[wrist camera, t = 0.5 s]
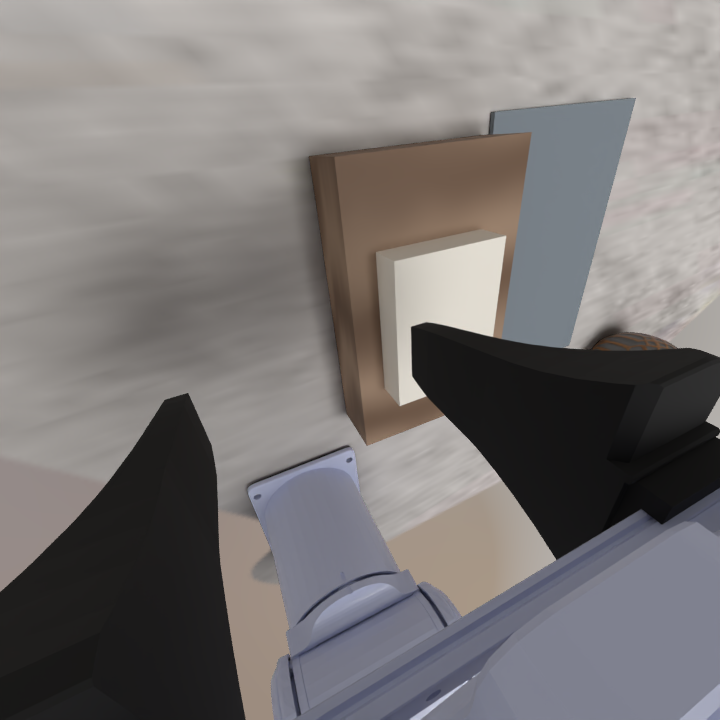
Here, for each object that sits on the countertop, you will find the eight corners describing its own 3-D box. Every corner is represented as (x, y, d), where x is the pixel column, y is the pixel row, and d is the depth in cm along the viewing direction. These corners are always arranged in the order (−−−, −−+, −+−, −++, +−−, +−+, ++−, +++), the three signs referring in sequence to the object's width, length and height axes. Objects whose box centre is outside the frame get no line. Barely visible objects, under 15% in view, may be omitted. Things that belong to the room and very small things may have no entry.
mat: (566, 343, 32) (569, 345, 32) (466, 380, 29) (469, 382, 28) (631, 98, 22) (635, 97, 22) (491, 112, 19) (495, 111, 19)
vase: (611, 375, 38) (706, 424, 31) (565, 391, 36) (657, 448, 29) (635, 316, 34) (749, 357, 28) (586, 330, 32) (696, 378, 25)
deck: (462, 372, 28) (493, 396, 25) (346, 413, 25) (367, 445, 22) (481, 135, 19) (531, 132, 17) (309, 156, 16) (334, 156, 14)
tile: (468, 359, 22) (488, 373, 21) (384, 388, 21) (399, 406, 19) (480, 229, 18) (506, 235, 17) (375, 251, 16) (394, 261, 15)
